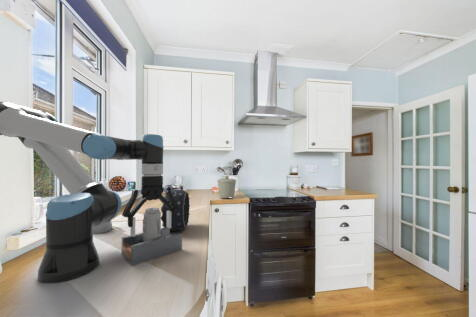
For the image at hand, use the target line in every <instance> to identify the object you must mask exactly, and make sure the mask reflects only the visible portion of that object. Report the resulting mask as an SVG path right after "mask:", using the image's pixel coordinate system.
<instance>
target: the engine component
mask: <svg viewBox="0 0 476 317" xmlns="http://www.w3.org/2000/svg"><path fill="white" fill-rule="evenodd" d="M112 229H113V222H112V219H111V220H110V221H108V222H106V223H103V224H101V225H98V226H96V227H94V228H93V234H102V233H106V232H108V230H109V231H112ZM101 232H102V233H101Z"/></svg>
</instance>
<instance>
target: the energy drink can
mask: <svg viewBox="0 0 476 317" xmlns="http://www.w3.org/2000/svg"><path fill="white" fill-rule="evenodd" d="M161 217H162V211H161V210H160V208H159V207H148V208H146V209H145V210H144V213H143V219H144V237H143V242H146V241H150V240H153V239H157V238H161V228H162V224H161V222H162V220H161Z"/></svg>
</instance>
